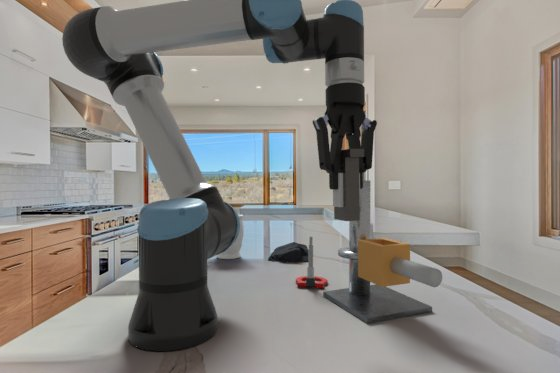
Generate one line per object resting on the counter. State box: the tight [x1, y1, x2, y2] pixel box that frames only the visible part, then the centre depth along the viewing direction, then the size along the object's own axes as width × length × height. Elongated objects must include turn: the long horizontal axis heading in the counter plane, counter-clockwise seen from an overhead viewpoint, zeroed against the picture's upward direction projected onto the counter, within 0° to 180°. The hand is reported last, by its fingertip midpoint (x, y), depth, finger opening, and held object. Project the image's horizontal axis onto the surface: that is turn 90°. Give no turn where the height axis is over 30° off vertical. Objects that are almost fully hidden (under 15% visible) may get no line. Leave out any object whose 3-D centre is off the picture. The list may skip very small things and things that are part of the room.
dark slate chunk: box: [267, 241, 309, 263], centre depth 125 cm, size 15×22×5 cm
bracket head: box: [358, 237, 443, 288], centre depth 68 cm, size 7×18×8 cm, turn 22°
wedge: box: [333, 148, 364, 222], centre depth 68 cm, size 3×8×14 cm, turn 21°
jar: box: [216, 213, 244, 260], centre depth 122 cm, size 11×10×15 cm
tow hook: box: [295, 236, 328, 289], centre depth 91 cm, size 8×13×9 cm
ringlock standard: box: [322, 179, 433, 324], centre depth 76 cm, size 16×19×27 cm
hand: (346, 206), depth 68 cm, fingers closed on wedge, 3 cm apart
